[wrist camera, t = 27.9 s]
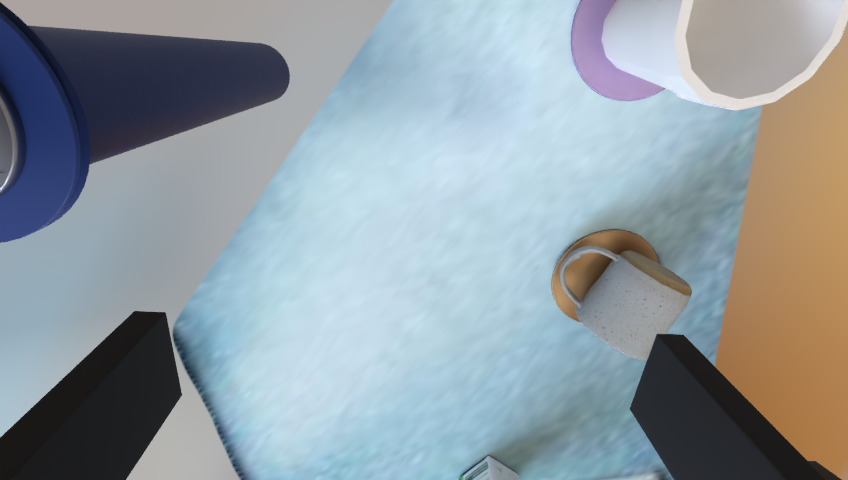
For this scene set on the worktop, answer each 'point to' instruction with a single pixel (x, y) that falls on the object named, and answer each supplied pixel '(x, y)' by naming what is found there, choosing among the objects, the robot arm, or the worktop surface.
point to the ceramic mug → (629, 301)
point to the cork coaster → (594, 264)
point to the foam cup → (724, 45)
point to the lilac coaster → (602, 56)
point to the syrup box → (490, 471)
